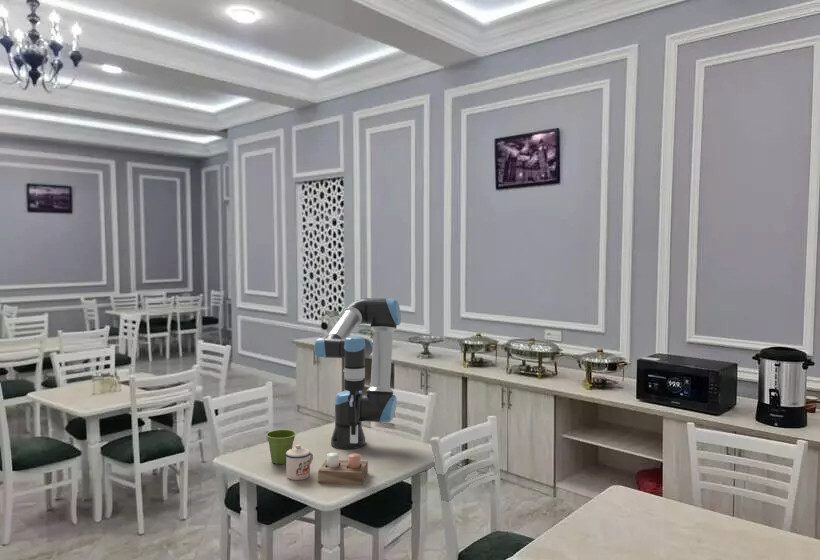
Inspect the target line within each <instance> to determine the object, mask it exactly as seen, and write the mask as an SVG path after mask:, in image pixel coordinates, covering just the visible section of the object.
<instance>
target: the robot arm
mask: <svg viewBox="0 0 820 560" xmlns="http://www.w3.org/2000/svg"><path fill="white" fill-rule="evenodd" d="M401 315H402V314H401V308H400V304H399V302H398V300H397V299H395V298H388V297H387V298H383V297H382V298H375V297H374V298H371V297H370V298H369V297H364V298H360V299H356V300H354V301H353V302H351V303H350V304H348V305H347V306H345V308H344V309H343V310H342V312H341V313H340V317H339V319H338V320H337V322H336V323H335V324H334V326H333V328H331V330H330V331H329V333H328V334H327V335H326V336H325V337H318V338H316V339H315V341H314V345H313V346H314V347H313V351H314V355H315V356H316V357H318V358H324V359H327V358H330V359H344V369H343V370H342V372H343V373H344V381H343V388H344V390H343V391H340V392H338V393H337V394H336V395H335V398H334V399H335V402H334V429H333V432H332V435H331V437H330V438H331V439H330V445H331V446H332V447H333V448H336V449H341V450H352V449H359V448H362V447H364V446H365V445H366V440H367V439H366V436H365V433H364V430H363V425H362V422H368V423H369V422H370V423H380V424H383V423H390V422H392V421H393V419H394V417H395V413H396V410H397V403H398V398H397V395H394V390H393V389H392V388H391V375H392V374H391V373H392V355H393V336H394V332H395V331H396V330H397V327H398V326H399V325H401V323H402V322H401V321H402V316H401ZM360 325H370V329H371V331H372V332H373V336H372V337H373V338H372V339H373V340H371V339H369V338H366V337H363V336H355V335H354V336H351V335H352V333H353V331H354V330H355V328H357V327H359V326H360ZM370 356H371V370H370V371H371V372H370V386H369V387H368V388H367V389H366V393H363V392H362V391H363V390H365V388H366V387H365V386H366V383H365V377H366V368H365V367H366V361H365V359H366V358H369V357H370Z"/></svg>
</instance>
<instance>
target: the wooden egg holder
mask: <svg viewBox="0 0 820 560" xmlns="http://www.w3.org/2000/svg"><path fill="white" fill-rule="evenodd" d="M368 467H369V463H368V460H360V469H350V468H348V459H339V467H338V468H328V467H327V458H326V459H325V461H324V462H323V463H322V464H321V466H320V468H318V472H317V475H318V476H317V484H333V485H335V484H336V485H337V484H338V485H353V486H354V485H355V486H362V485H363V484H364V481H365V479H366V477H367V475H368V471H369V470H368V469H369V468H368Z"/></svg>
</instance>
